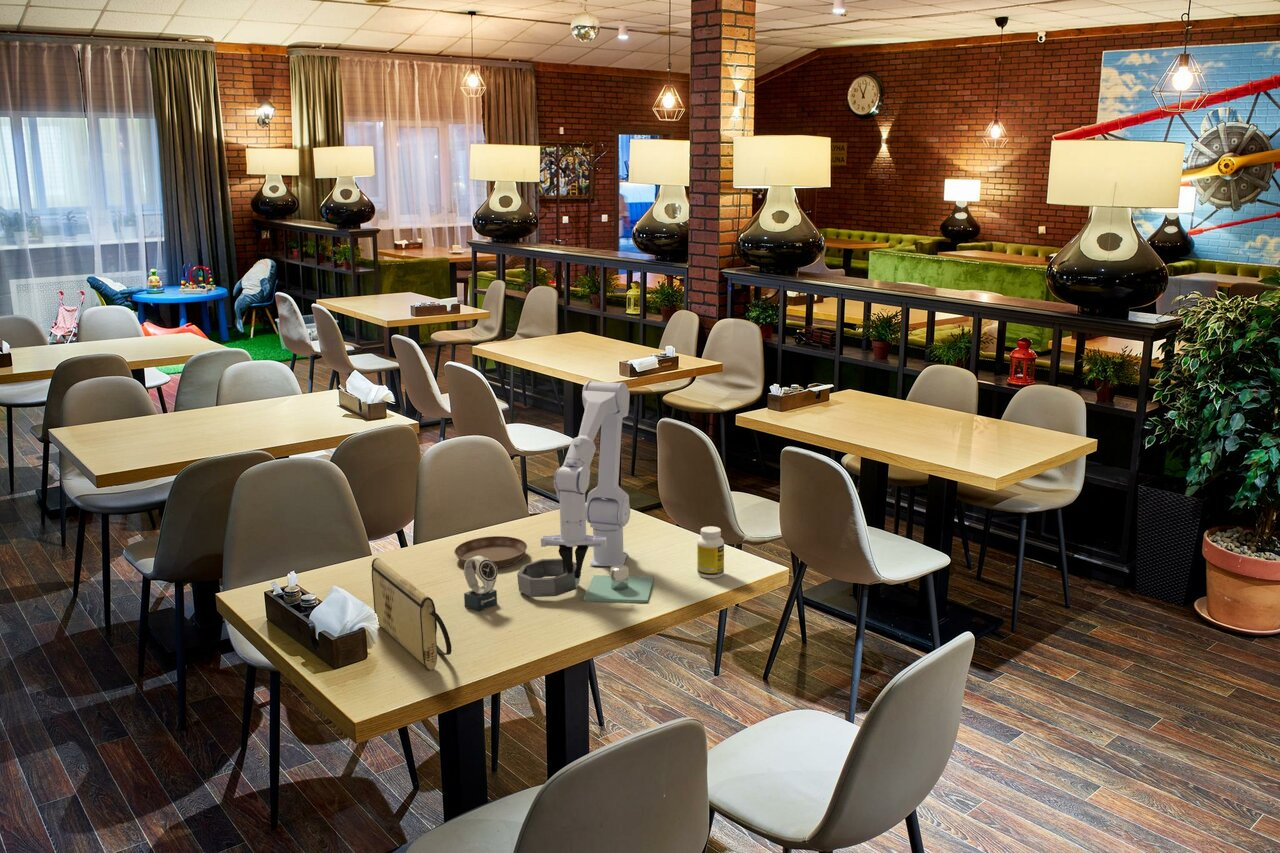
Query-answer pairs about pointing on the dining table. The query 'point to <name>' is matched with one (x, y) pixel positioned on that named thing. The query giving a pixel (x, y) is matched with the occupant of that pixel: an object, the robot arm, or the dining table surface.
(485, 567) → the watch
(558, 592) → the gunmetal ring
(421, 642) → the clutch purse
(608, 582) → the teal board
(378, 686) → the dining table surface
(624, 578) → the post
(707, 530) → the pill bottle
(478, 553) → the plant saucer
